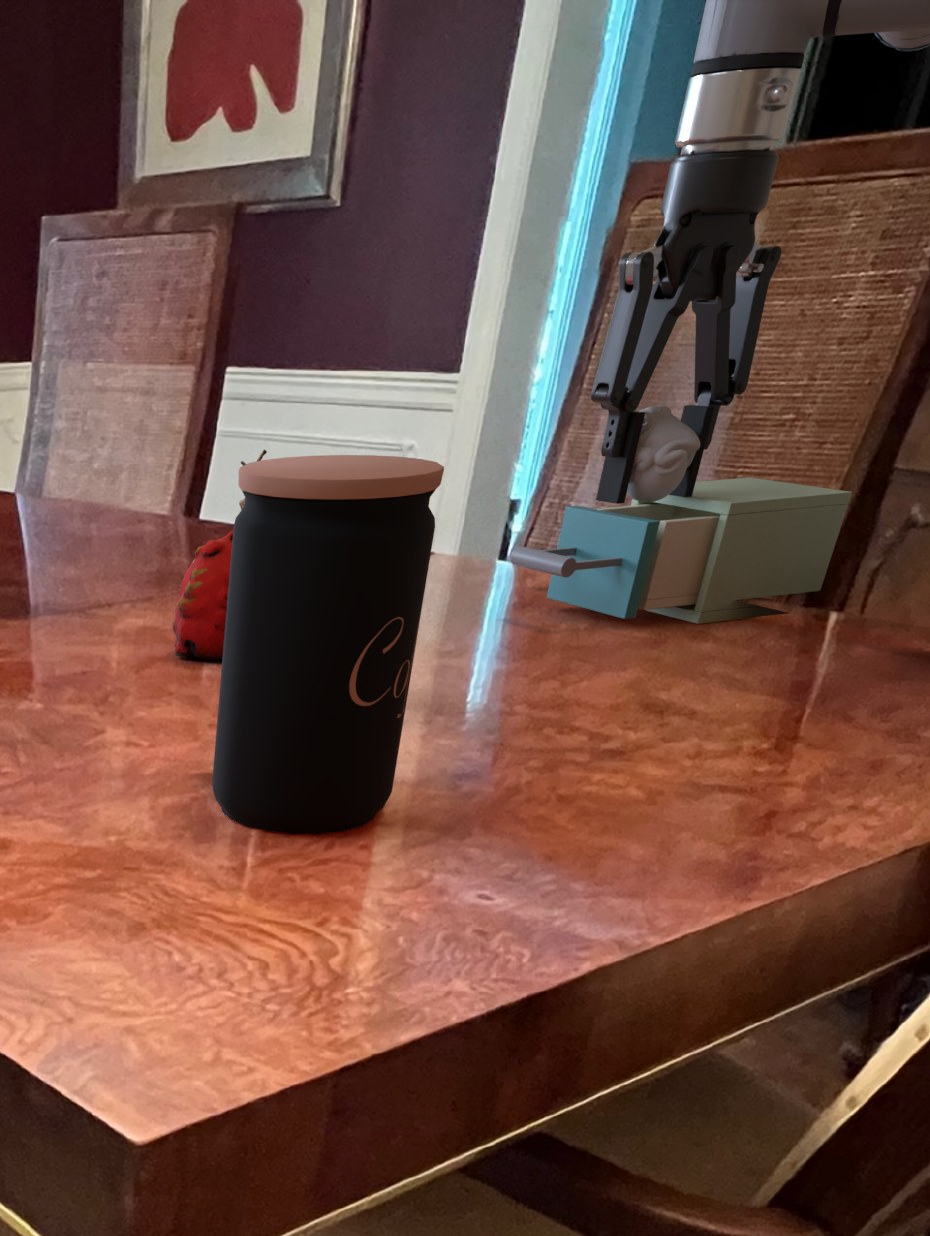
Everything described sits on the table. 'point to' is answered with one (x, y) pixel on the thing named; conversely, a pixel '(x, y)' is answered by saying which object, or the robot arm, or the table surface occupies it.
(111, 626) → the table surface
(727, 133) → the robot arm
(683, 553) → the drawer
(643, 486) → the frog figurine
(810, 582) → the cabinet
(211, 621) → the red clay folk toy
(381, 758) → the coffee jar
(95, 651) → the table surface
